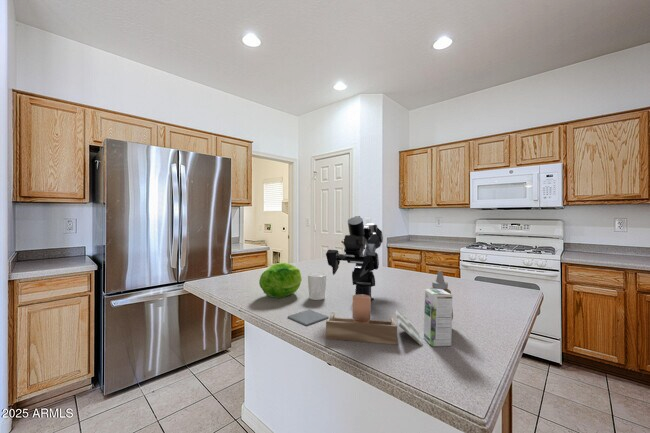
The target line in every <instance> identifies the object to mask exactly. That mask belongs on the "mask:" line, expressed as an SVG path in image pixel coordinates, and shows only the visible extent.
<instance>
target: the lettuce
mask: <svg viewBox="0 0 650 433" xmlns="http://www.w3.org/2000/svg"><path fill="white" fill-rule="evenodd" d="M301 283H302V273H301V271H300V269H299V268H298V267H296V266H295V265H292V264H290V263H287V262H278V263H274V264H272V265H271V266H269V267H268V268H266V269H265V270H264V271H263V272H262V274H261V275H260V277H259V287H260V289H261V290H262V291H263V294H265V295H266V296H268V297H270V298H276V299H282V298H286V297H288V296H291V295H292V294H294V293H296V292H297V291H298V290H299V288H300V286H301Z"/></svg>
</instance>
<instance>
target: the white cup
mask: <svg viewBox="0 0 650 433" xmlns="http://www.w3.org/2000/svg"><path fill="white" fill-rule="evenodd" d="M326 285H327V274H326V273H323V272H311V273H308V274H307V287H308V298H309V299H310V300H312V301H321V300H324V299H325V298H326V288H327V287H326Z"/></svg>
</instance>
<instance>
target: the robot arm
mask: <svg viewBox="0 0 650 433" xmlns="http://www.w3.org/2000/svg"><path fill="white" fill-rule="evenodd" d="M347 226H348V232H349V234H347V235H344V238H343V242H342V245H343V246H344V250H343V251H344V252H343V253H339V250H338V249H328V250H327V251H326V253H325V256H326V259H327V260H326V261H327V264H328V266H330V267H331V268H332V276H335V274H336V273H337V271H338V269H339V267H340V266H339V265H340V263H341V261H346V262H347V263H348V264H355V266H354V267H353V268H354V269H353V270H352V272H351V280H352V285H353V286H355V291H354V292H355V294H354V295H356V294H364V295H369V296H370V297H371V301H374V299H375V298H374V297H372V287H376V278H375V277H376V276H375V275H374V272H373V271H375V270H378V269H379V266H380V260H379V253H377V252H376V251H377V249H378V248H380V247H381V245H382V243H383V241H384V236H383V231H382V230H381V229H380V228H379V227H378V224H377V223H366V224H365V225H364V219H363V218H362V217H361V215H355V216H354V217H351V218H349V219H347Z"/></svg>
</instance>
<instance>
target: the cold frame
mask: <svg viewBox="0 0 650 433" xmlns="http://www.w3.org/2000/svg"><path fill="white" fill-rule="evenodd" d="M395 315H396V319H397V323H398V325H396V322H395V317H394V316H390V320H380V319H370V320H369V323H356V322H354V319H353V318H351V317H349V318H348V317H335V312H331V314H330V317H329V318H328V319H329V320H328V319H325V320H326V321H325V339H326V340H337V341H350V342H351V341H352V342H362V343H363V342H364V343H373V344H374V343H376V344H387V345H388V344H389V345H398V327H400V328H401V329H402V330H403V331H404V332H405V333H406V334H407V335H408V336H410V337H411V338H412V339H413V340H414V341H415V342H416V343H417V344H419V346H423V345H424V344H423V342H422V338H421V336H420V334H419V333H420V332H419V330H418V329H417V326H416V325H415V324H413V323H412V321H410V320H409V319H407V317H405V316H404V315H403V314H402V313H401V312H400V311H399V310H398V309H395Z"/></svg>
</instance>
